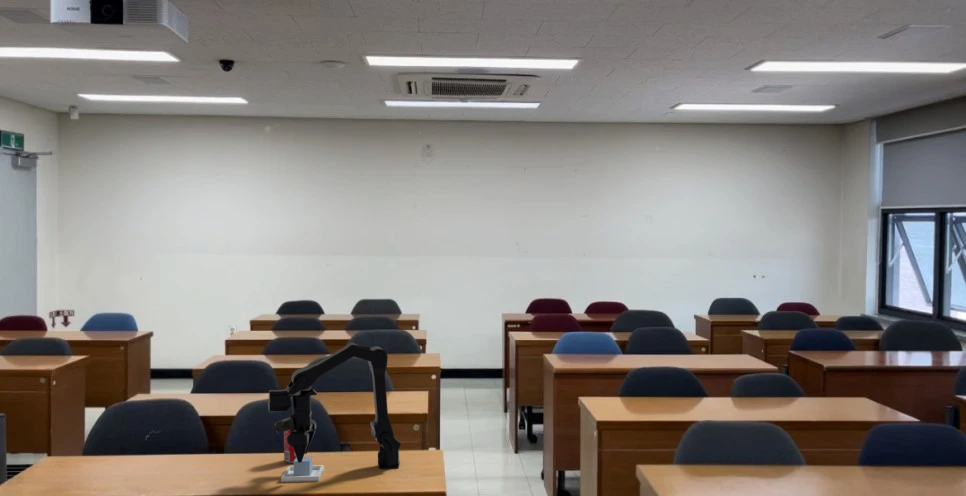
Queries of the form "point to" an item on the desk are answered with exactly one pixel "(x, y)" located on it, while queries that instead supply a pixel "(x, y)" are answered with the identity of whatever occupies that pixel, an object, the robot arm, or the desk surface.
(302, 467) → the block
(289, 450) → the beverage can
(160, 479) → the desk surface
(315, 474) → the tray
